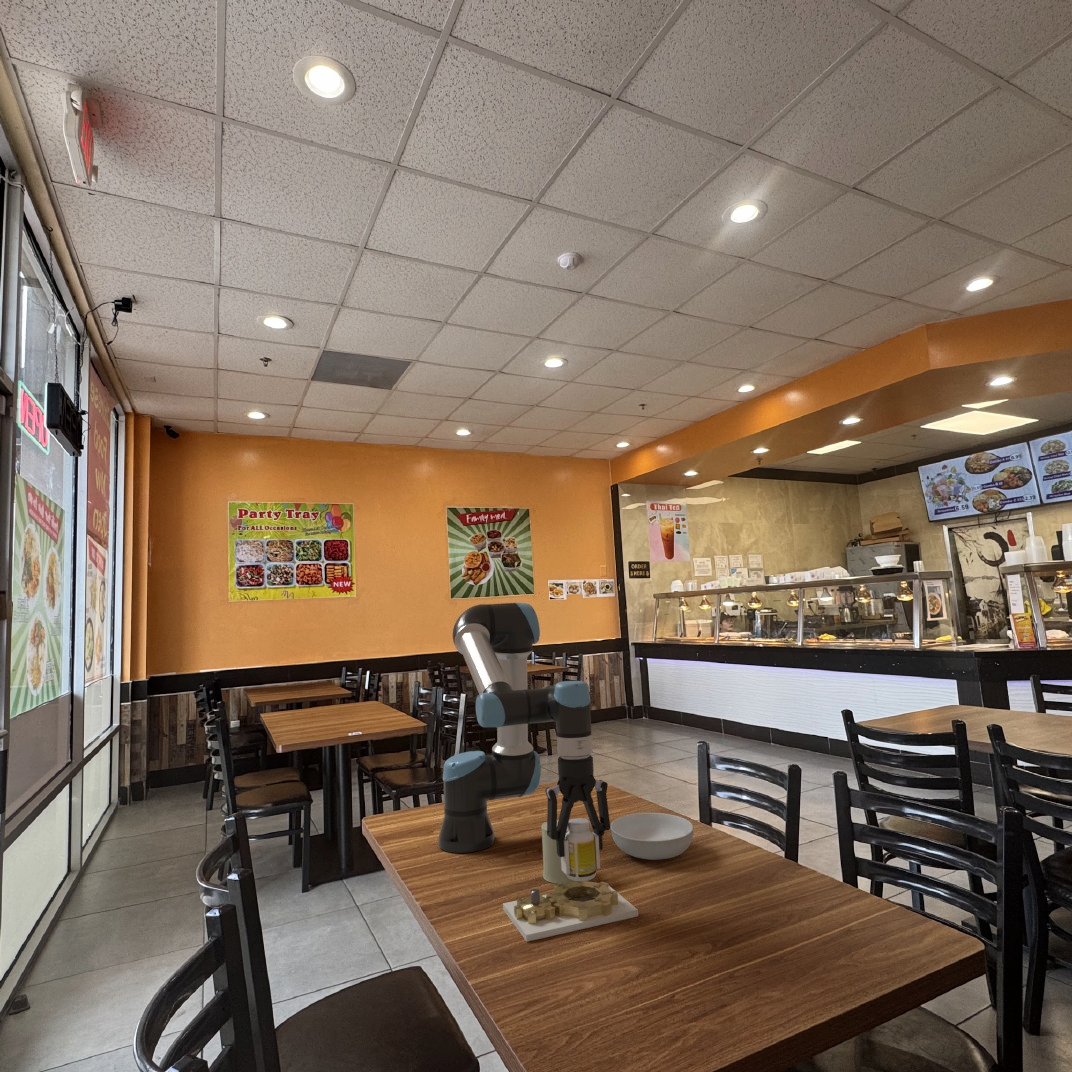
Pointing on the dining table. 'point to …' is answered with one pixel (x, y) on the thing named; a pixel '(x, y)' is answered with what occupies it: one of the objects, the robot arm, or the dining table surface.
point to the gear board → (568, 920)
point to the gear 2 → (583, 899)
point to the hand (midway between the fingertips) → (580, 869)
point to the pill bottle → (581, 850)
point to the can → (552, 859)
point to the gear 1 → (535, 908)
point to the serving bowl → (652, 835)
